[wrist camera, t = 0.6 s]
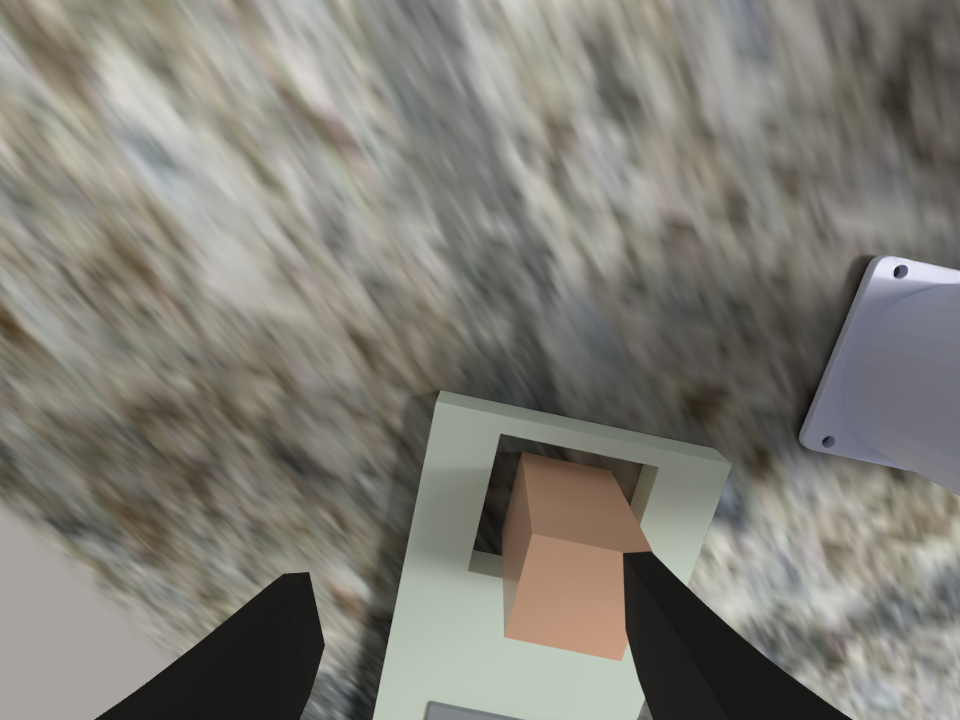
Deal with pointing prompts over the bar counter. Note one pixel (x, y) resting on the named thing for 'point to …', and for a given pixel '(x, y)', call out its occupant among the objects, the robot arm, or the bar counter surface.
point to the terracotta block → (567, 557)
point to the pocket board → (479, 576)
